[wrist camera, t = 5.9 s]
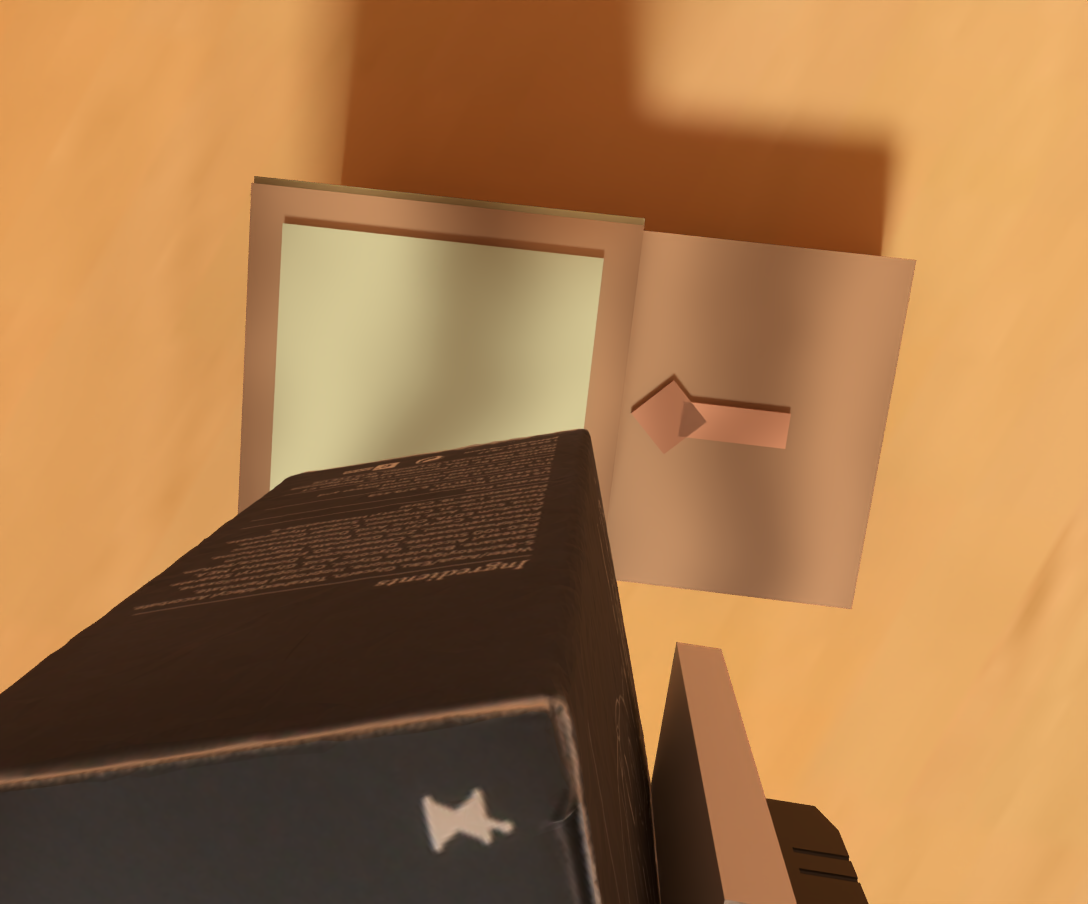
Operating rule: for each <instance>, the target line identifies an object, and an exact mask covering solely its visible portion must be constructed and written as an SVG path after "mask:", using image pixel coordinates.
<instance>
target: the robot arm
mask: <svg viewBox="0 0 1088 904" xmlns="http://www.w3.org/2000/svg"><path fill="white" fill-rule="evenodd" d="M651 797H652V808H653V819H654V831H655V842H656V854H657V865H658V876H659V888H660V899H661V904H868V902H867V899H866V897H865V894H864V892H863V889H862V887H861V884H860V883H858V882H857V879H858V877H857V875H856V872H855V870H854V867H853V865H852V862H851V861H849V855H848V853H847V850H846V848H845V845H844V843H843V840H842V838H841V835H840V833H839V831H838V830H837V829H836V828H835V826H834V825H833V824H832V823H831V822H830V821H829V820H828V819H827V818H826V817H825V816H824V815H823V814H822V813H821V812H820V811H819V810H818V809H817V808H816V807H815V806H810V805H804V804H798V803H792V802H785V801H779V800H773V799H766V798H765V795H764V792H763V788H762V785H761V782H760V778H759V775H758V771H757V768H756V765H755V761H754V758H753V755H752V751H751V748H750V745H749V741H748V738H747V734H746V731H745V728H744V724H743V721H742V718H741V714H740V711H739V707H738V704H737V701H736V697H735V694H734V691H733V687H732V684H731V681H730V677H729V674H728V670H727V667H726V664H725V660H724V657H723V654H722V650H721V649H718V648H711V647H705V646H698V645H692V644H685V643H679V642H676V648H675V653H674V659H673V665H672V670H671V676H670V681H669V687H668V693H667V698H666V704H665V709H664V715H663V720H662V726H661V732H660V737H659V743H658V748H657V754H656V760H655V765H654V771H653V776H652V782H651Z"/></svg>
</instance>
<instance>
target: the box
mask: <svg viewBox="0 0 1088 904" xmlns="http://www.w3.org/2000/svg"><path fill="white" fill-rule="evenodd" d="M0 904H661V899H660V888H659V876H658V865H657V854H656V842H655V831H654V819H653V808H652V797H651V782H650V776H649V770H648V763H647V756H646V751H645V743H644V735H643V730H642V725H641V720H640V715H639V709H638V703H637V696H636V691H635V685H634V679H633V673H632V667H631V661H630V655H629V649H628V644H627V639H626V634H625V628H624V623H623V616H622V611H621V605H620V599H619V593H618V587H617V582H616V577H615V570H614V565H613V559H612V554H611V548H610V543H609V538H608V533H607V526H606V520H605V515H604V509H603V503H602V497H601V491H600V486H599V480H598V474H597V469H596V463H595V458H594V452H593V447H592V441H591V436H590V434H589V431H588V430H587V429H573V430H566V431H559V432H554V433H549V434H542V435H535V436H529V437H521V438H514V439H509V440H503V441H493V442H490V443H486V444H474V445H470V446H466V447H461V448H456V449H451V450H444V451H437V452H430V453H423V454H416V455H410V456H405V457H399V458H393V459H386V460H380V461H375V462H369V463H362V464H356V465H350V466H344V467H337V468H331V469H324V470H315V471H307V472H303V473H300V474H297V475H293V476H290V477H288V478H286V479H284V480H283V481H282V482H281V483H280V484H279V485H277V486H276V487H275V488H274V489H272V490H271V491H269V492H268V493H267V494H265V495H264V496H263V497H261V498H260V499H259V500H257V501H256V502H254V503H253V504H252V505H250V506H249V507H248V508H246V509H245V510H243V511H242V512H241V513H239V514H238V515H237V516H236V517H235V518H233V519H232V520H230V521H228V522H227V523H225V524H224V525H223V526H221V527H220V528H219V529H218V530H217V531H215V532H214V533H213V534H212V535H211V536H209V537H208V538H206V539H204V540H203V541H202V542H201V543H200V544H199V545H198V546H196V547H194V548H193V549H192V550H190V551H189V552H187V553H186V554H185V555H183V556H182V557H181V558H179V559H178V560H177V561H176V562H175V563H174V564H172V565H171V566H170V567H169V568H167V569H166V570H165V571H164V572H162V573H161V574H160V575H158V576H157V577H155V578H154V579H152V580H151V581H149V582H148V583H146V584H145V585H144V586H143V587H141V588H140V589H139V590H137V591H136V592H135V593H133V594H132V595H130V596H129V597H128V598H126V599H125V600H124V601H122V602H121V603H120V604H118V605H117V606H116V607H114V608H113V609H112V610H111V611H110V612H108V613H107V614H106V615H105V616H103V617H102V618H101V619H99V620H98V621H97V622H95V623H94V624H92V625H91V626H89V627H88V628H86V629H84V630H83V631H81V632H80V633H79V634H77V635H76V636H75V637H73V638H72V639H71V640H70V641H69V642H68V643H67V644H66V645H64V646H63V647H62V648H60V649H59V650H57V651H55V652H54V653H52V654H51V655H49V656H48V657H47V658H45V659H44V660H43V661H42V662H40V663H39V664H38V665H37V666H36V667H34V668H33V669H32V670H31V671H29V672H28V673H27V674H26V675H24V676H23V677H22V678H20V679H19V680H18V681H17V682H15V683H14V684H13V685H12V686H10V687H9V688H8V689H6V690H5V691H4V692H2V693H1V694H0Z"/></svg>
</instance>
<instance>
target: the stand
mask: <svg viewBox="0 0 1088 904" xmlns="http://www.w3.org/2000/svg"><path fill="white" fill-rule="evenodd" d="M644 223H645V218H637V217H628V216H619V215H610V214H600V213H591V212H582V211H573V210H563V209H554V208H545V207H536V206H526V205H517V204H508V203H499V202H489V201H480V200H471V199H462V198H452V197H443V196H434V195H425V194H415V193H406V192H397V191H388V190H378V189H369V188H360V187H351V186H341V185H332V184H323V183H314V182H304V181H295V180H286V179H277V178H267V177H258V176H254V183H252V185H251V209H250V234H249V258H248V282H247V306H246V331H245V355H244V379H243V404H242V428H241V452H240V476H239V501H238V514H239V513H241V512H242V511H243V510H245V509H246V508H248V507H249V506H250V505H252V504H253V503H254V502H256V501H257V500H259V499H260V498H261V497H263V496H264V495H265V494H267V493H268V492H269V491H271V490H272V489H274V488H275V487H276V486H277V485H279V484H280V483H281V482H282V481H283V480H284V479H286V478H288V477H290V476H293V475H297V474H300V473H303V472H307V471H315V470H324V469H331V468H337V467H344V466H350V465H356V464H362V463H369V462H375V461H380V460H386V459H393V458H399V457H405V456H410V455H416V454H423V453H430V452H437V451H444V450H451V449H456V448H461V447H466V446H470V445H474V444H486V443H490V442H493V441H503V440H509V439H514V438H521V437H529V436H535V435H542V434H549V433H554V432H559V431H566V430H573V429H587V430H588V431H589V434H590V436H591V441H592V447H593V452H594V458H595V463H596V469H597V474H598V480H599V486H600V491H601V497H602V503H603V509H604V515H605V520H606V526H607V533H608V538H609V543H610V548H611V554H612V559H613V565H614V570H615V577H616V580H617V581H626V582H634V583H642V584H650V585H658V586H666V587H675V588H683V589H691V590H699V591H707V592H715V593H723V594H732V595H740V596H748V597H756V598H764V599H772V600H781V601H789V602H797V603H805V604H813V605H821V606H829V607H838V608H846V609H852V604H853V598H854V593H855V588H856V582H857V577H858V571H859V566H860V561H861V555H862V550H863V544H864V539H865V534H866V528H867V523H868V518H869V512H870V507H871V501H872V496H873V491H874V485H875V480H876V474H877V469H878V464H879V458H880V453H881V447H882V442H883V437H884V431H885V426H886V421H887V415H888V410H889V404H890V399H891V394H892V388H893V383H894V377H895V372H896V367H897V361H898V356H899V350H900V345H901V340H902V334H903V329H904V324H905V318H906V313H907V307H908V302H909V297H910V291H911V286H912V280H913V275H914V270H915V264H916V260H911V259H902V258H893V257H883V256H874V255H865V254H856V253H847V252H837V251H828V250H819V249H810V248H800V247H791V246H782V245H773V244H764V243H754V242H745V241H736V240H727V239H718V238H708V237H699V236H690V235H681V234H672V233H662V232H653V231H644Z"/></svg>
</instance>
